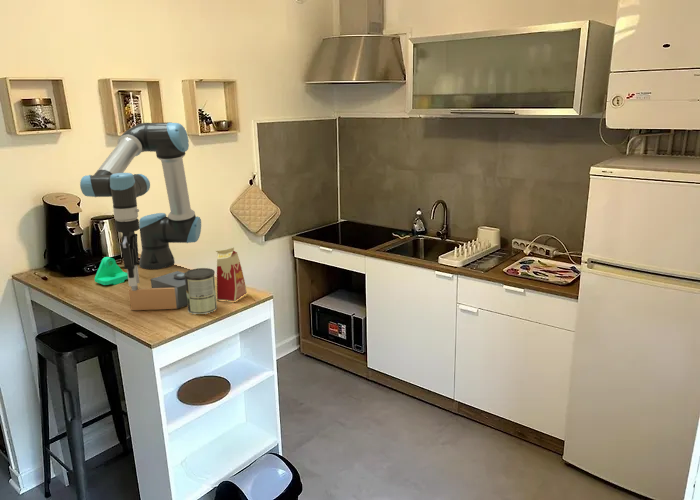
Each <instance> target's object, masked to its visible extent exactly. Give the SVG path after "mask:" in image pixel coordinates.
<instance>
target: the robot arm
mask: <svg viewBox="0 0 700 500" xmlns="http://www.w3.org/2000/svg"><path fill="white" fill-rule="evenodd" d="M189 147H190V145H189V136H188V133H187V131H186V129H185V127H184V125H183V124H181V123H179V122H141V123H137V124H136V125H134V126H132V127H130V128H129V129H127V130H126V131H124V132H123V133H122V134H121V135H120V137H118V140H117V145H116V146H115V148H114V149H112V151H110V154H109V155H108V156H107V157H106V159H105V160H104V161H103V163H102V164H101V165H100V166H99V167H98V169H97V170H96V172H95V173H94V174H89V175H84V176H82V177H81V179H80V181H79V185H80V190H81V193H82V194H83V195H84V196H85V197H90V198H91V197H92V198H93V197H94V198H106V197H107V198H108V197H109V198H111V200H112V208H113V209H112V210H113V217H114V220H115V221H114V226H115V231H116V232H118V233H121V234H122V235H121V242H120V243H119V245H120V246H119V247H120V248H121V253H122V259H123V265H124V267H123V269H124V270H126V273H127V274H128V279H127V280H128V287H131V286H138V284H140V277H139V267H140V268H141V269H145V270H160V269H165V268H169V267H172V266H173V265H175V263H176V262H175V257H174V255H173V253H172V250H171V248H170V244H171V243H173V244H174V243H175V244H176V243H178V244H181V243H182V244H184V243H185V244H190V243H196V242H198V241H199V239H200V236H201V232H202V219H201V217H199V216H196V212H195V210H194V209H192V208H191V202H190V196H189V195H190V194H189V191H188V184H187V179H186V178H187V177H186V171H185V165H184V161H183V158H184V157H185V156H186V152H187V151H188V150H189ZM145 152H150V153H153V152H155V155H156V158H157V159H158V160H160V161H161V165H162V166H161V167H162V171H163V176H164V182H165V189H166V195H167V199H168V203H169V209H170V212H169V213H168V215H167V214H166V213H165V212H157V213H151V214H147V215H144V216H142V217H140V218H139V212H140V209H139V208H138V203H137V198H139V197H142V196H144V195H145V194H146V193H148V192H149V191H150V188H151V182H150V180H149V178H148V177H147V176H146V175H145V174H142V173H136V174H135V173H134V174H132V173H131V172H125V171H126V170H127V168H128V167H129V166H130V164H131V163H132V161H133V160H134V158H136V157H137V156H139V155H141V154H142V153H145ZM138 230H139V235H140V243H141V253H140V258H139V249H138V247H139V246H138V233H135V232H136V231H138ZM138 266H139V267H138ZM134 267H135V268H134Z"/></svg>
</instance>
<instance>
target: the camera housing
mask: <svg viewBox="0 0 700 500" xmlns="http://www.w3.org/2000/svg"><path fill="white" fill-rule="evenodd" d="M184 273H185V272H182V271H178V270H176V271H172V272H169V273H166V274H164V275H159V276H157V277H152V278H150V284H151V288H174V287H177V289H178V299H179V308H178V309H181V307H182V308H184V307H188V305H187V294H186V283H185V276H184Z"/></svg>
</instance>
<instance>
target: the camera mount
mask: <svg viewBox="0 0 700 500" xmlns="http://www.w3.org/2000/svg"><path fill="white" fill-rule="evenodd" d="M100 261H101V262H100V264H99V267H98V269H97V271H96V273H95V276H94V279H93V280H94V282H95V283H97V284H101V285H103V286H108V285H113V286H115V285H119V284H123V283H125V280H128V274H127V271H126V272H125V271H123V269H122V268H121V267H120V266H119V265H118V264H117V262H116V260H115V258H113V257H109V256H105V257H103V258H102V259H101V260H100Z"/></svg>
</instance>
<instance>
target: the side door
mask: <svg viewBox="0 0 700 500" xmlns="http://www.w3.org/2000/svg"><path fill="white" fill-rule="evenodd" d="M134 268H135V267H134ZM130 287H131V288H130V289H128V294H129V297H128V298H129V303H130V311H146V310H147V311H149V310H151V311H152V310H170V309H171V310H172V309H173V310H174V309H177V310H178V309H180V308H179V299H178V289H177V287H174V288H152V287H149V288H148V287H147V288H146V287H145V288H139V287H138V285H137V286H130Z"/></svg>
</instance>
